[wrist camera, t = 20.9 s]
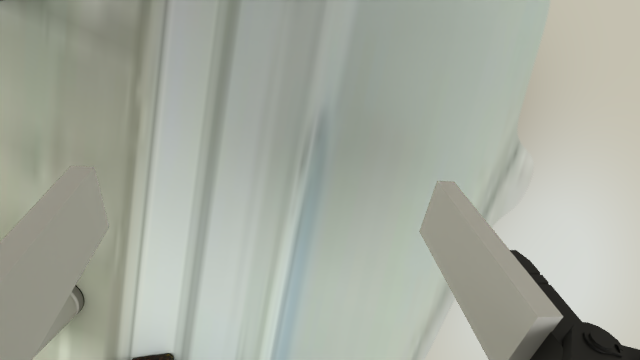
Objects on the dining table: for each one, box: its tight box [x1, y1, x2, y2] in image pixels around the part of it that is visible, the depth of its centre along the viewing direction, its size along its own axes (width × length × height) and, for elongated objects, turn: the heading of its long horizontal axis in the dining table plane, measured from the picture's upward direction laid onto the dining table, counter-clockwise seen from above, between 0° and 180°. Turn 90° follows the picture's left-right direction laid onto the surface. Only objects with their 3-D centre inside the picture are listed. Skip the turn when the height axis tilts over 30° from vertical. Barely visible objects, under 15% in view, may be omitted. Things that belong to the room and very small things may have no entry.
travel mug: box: [33, 286, 83, 358], centre depth 41 cm, size 6×7×20 cm
